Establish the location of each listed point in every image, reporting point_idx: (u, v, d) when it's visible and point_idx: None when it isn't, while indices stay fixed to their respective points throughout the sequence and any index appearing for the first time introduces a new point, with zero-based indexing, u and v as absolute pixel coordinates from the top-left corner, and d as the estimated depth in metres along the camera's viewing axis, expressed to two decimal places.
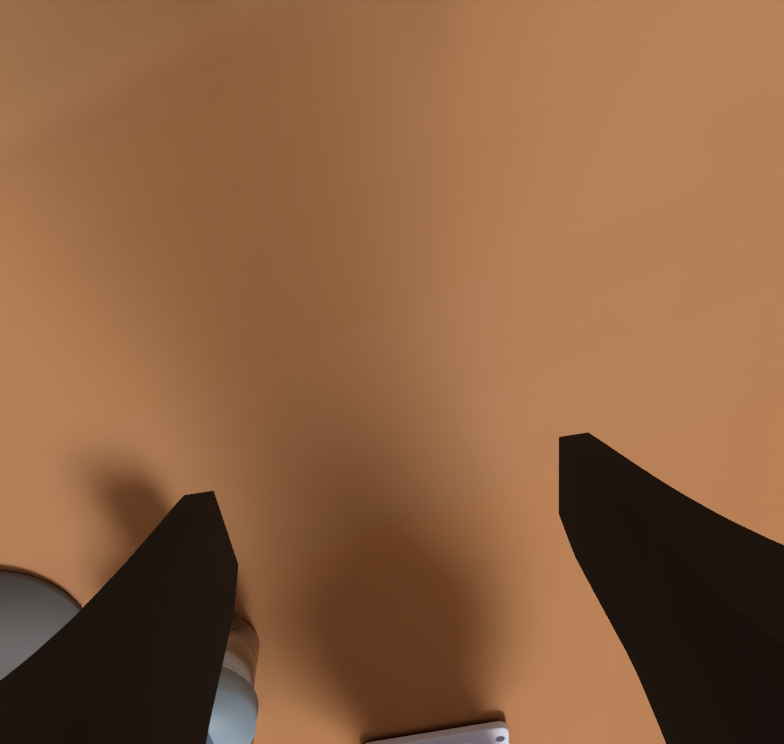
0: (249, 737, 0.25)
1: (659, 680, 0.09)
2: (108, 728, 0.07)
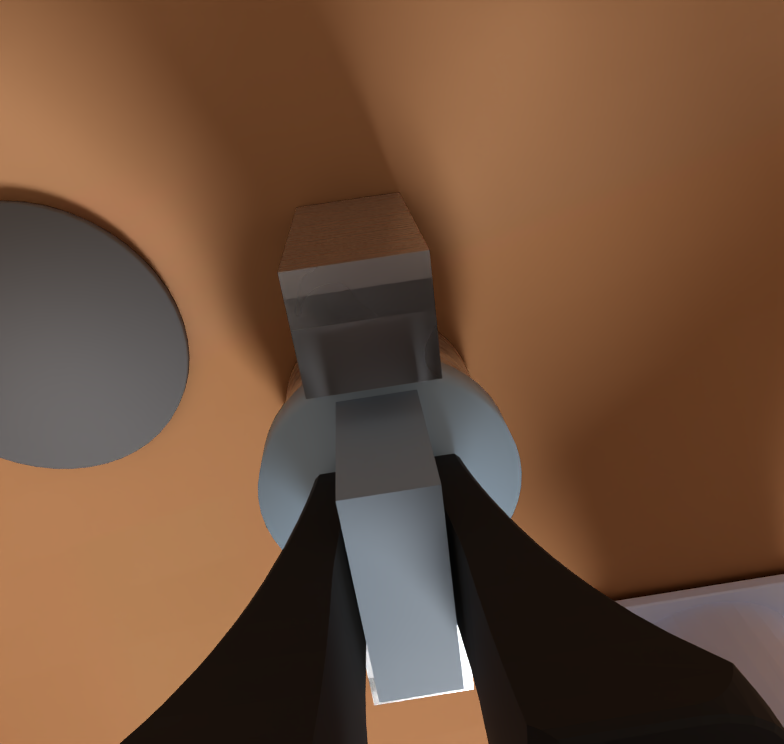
0: None
1: (485, 708, 0.09)
2: (333, 692, 0.07)
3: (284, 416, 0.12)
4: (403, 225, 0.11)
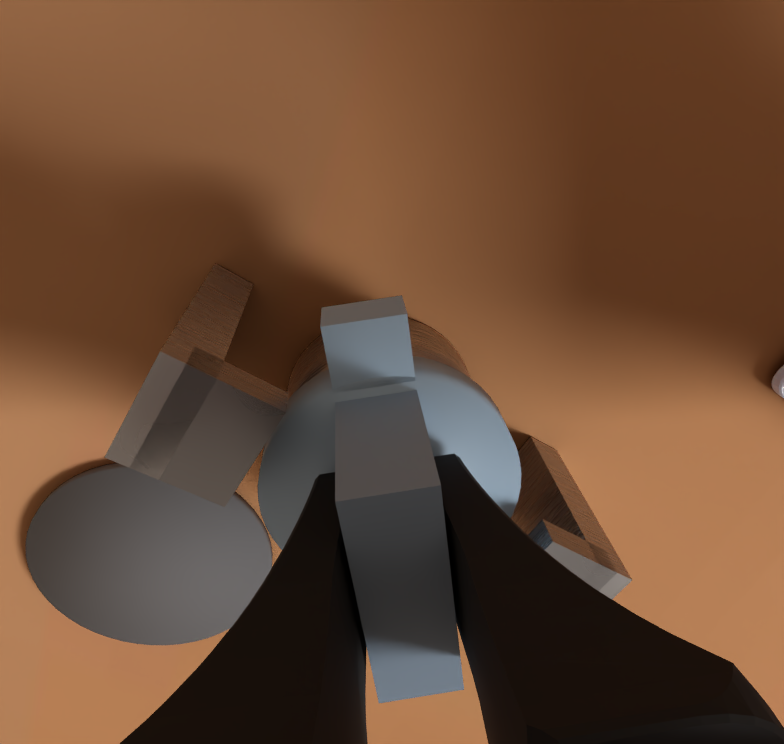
0: None
1: (485, 708, 0.09)
2: (334, 692, 0.07)
3: (284, 416, 0.12)
4: None
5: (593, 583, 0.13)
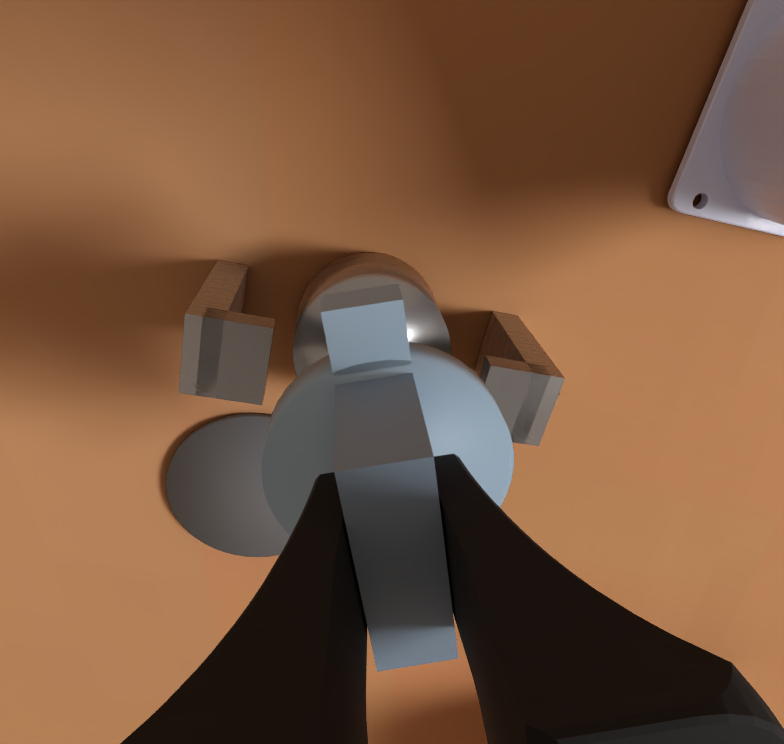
0: (495, 501, 0.14)
1: (485, 708, 0.09)
2: (334, 692, 0.07)
3: (286, 400, 0.13)
4: None
5: (536, 388, 0.18)
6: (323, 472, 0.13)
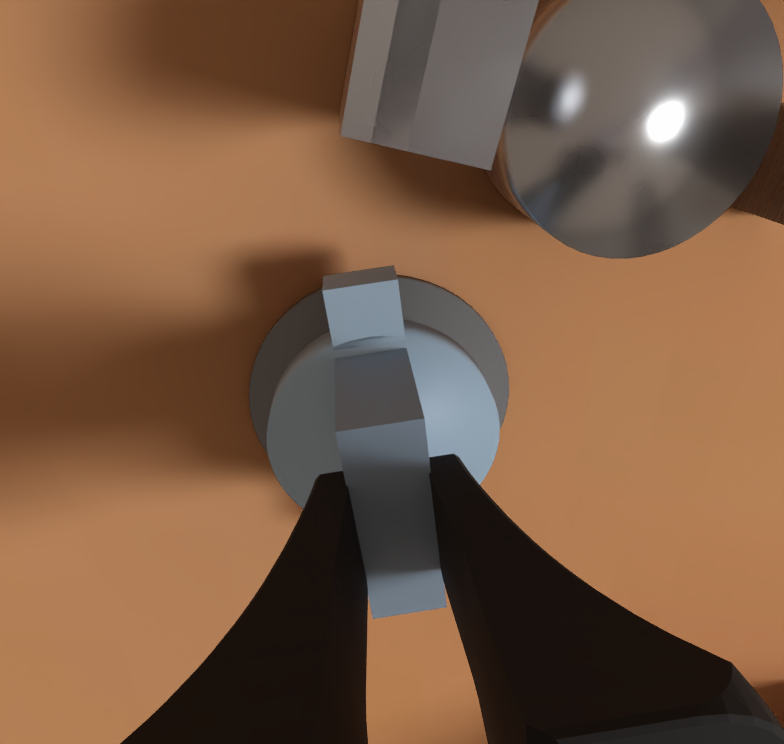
0: (482, 468, 0.15)
1: (485, 708, 0.09)
2: (334, 691, 0.07)
3: (290, 372, 0.14)
4: None
5: None
6: (323, 440, 0.14)
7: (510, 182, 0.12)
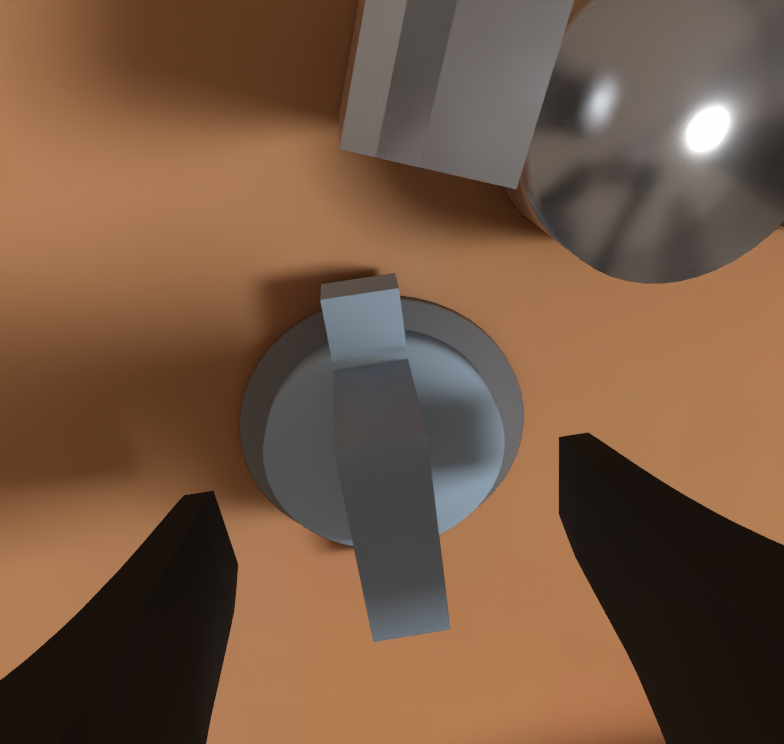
0: (487, 483, 0.14)
1: (659, 680, 0.09)
2: (108, 728, 0.07)
3: (287, 384, 0.13)
4: None
5: None
6: (322, 454, 0.14)
7: (532, 198, 0.10)
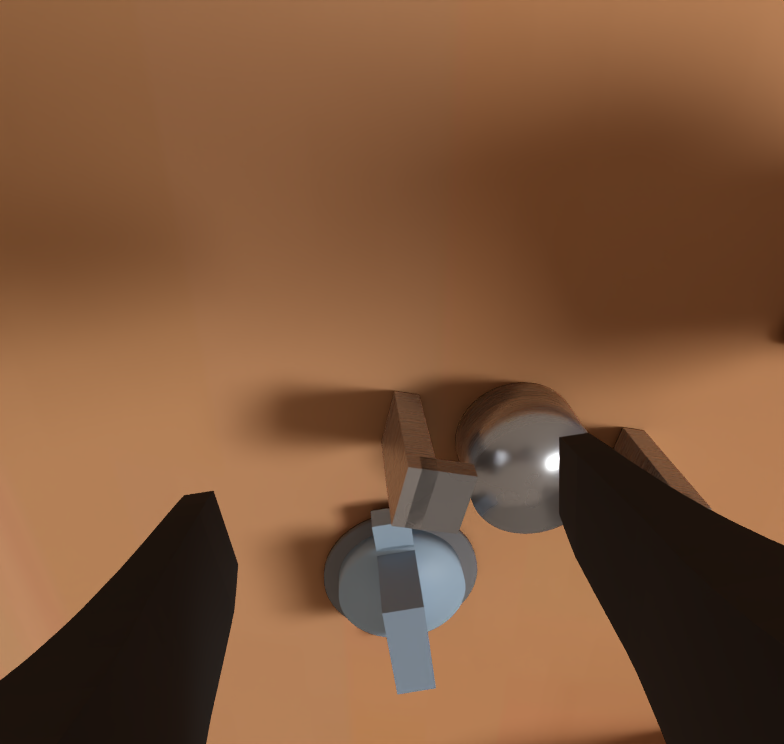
0: (456, 604, 0.27)
1: (659, 680, 0.09)
2: (108, 728, 0.07)
3: (352, 560, 0.26)
4: (401, 440, 0.20)
5: None
6: (369, 593, 0.26)
7: None
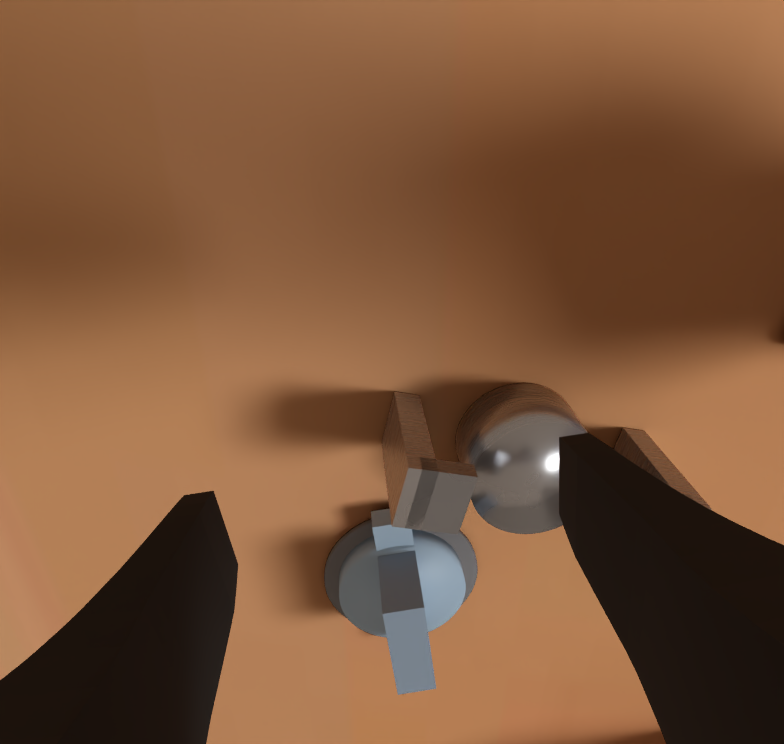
0: (457, 605, 0.27)
1: (659, 680, 0.09)
2: (108, 728, 0.07)
3: (352, 560, 0.26)
4: (401, 441, 0.20)
5: None
6: (370, 593, 0.26)
7: None
